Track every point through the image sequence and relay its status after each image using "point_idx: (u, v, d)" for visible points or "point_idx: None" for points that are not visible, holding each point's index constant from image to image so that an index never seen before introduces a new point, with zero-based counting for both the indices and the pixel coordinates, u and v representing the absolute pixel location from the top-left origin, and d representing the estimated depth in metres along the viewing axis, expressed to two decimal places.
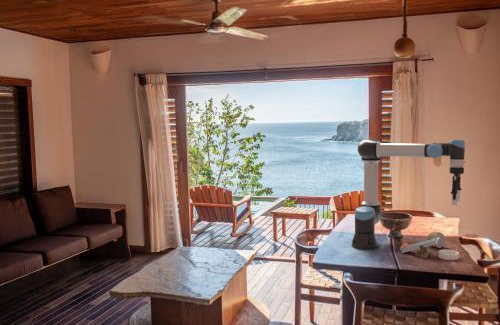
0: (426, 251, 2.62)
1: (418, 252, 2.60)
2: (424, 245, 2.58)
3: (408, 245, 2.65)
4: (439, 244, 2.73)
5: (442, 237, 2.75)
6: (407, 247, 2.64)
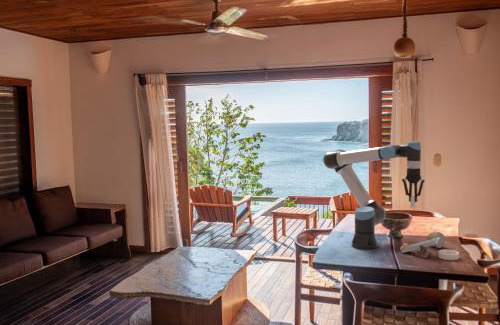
0: (426, 251, 2.62)
1: (418, 252, 2.60)
2: (424, 245, 2.58)
3: (408, 245, 2.65)
4: (439, 244, 2.73)
5: (442, 237, 2.75)
6: (407, 247, 2.64)
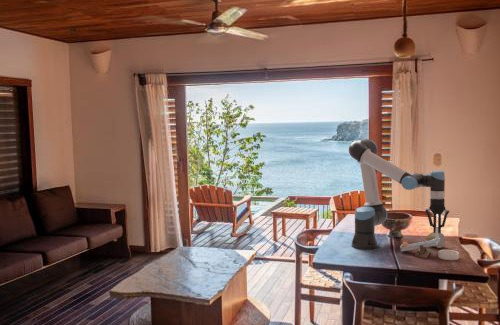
0: (426, 251, 2.62)
1: (418, 252, 2.60)
2: (424, 245, 2.58)
3: (408, 245, 2.65)
4: (439, 244, 2.73)
5: (442, 237, 2.75)
6: (407, 246, 2.64)
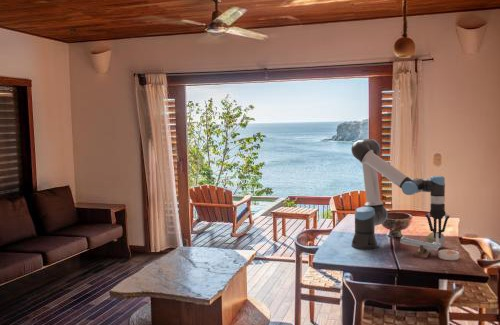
0: (426, 251, 2.62)
1: (418, 252, 2.60)
2: (425, 246, 2.58)
3: None
4: None
5: (442, 237, 2.75)
6: None
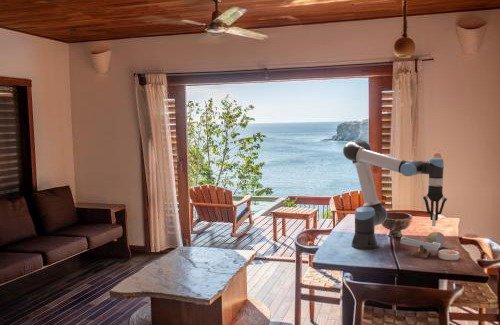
0: (426, 251, 2.62)
1: (418, 252, 2.60)
2: (425, 246, 2.58)
3: None
4: None
5: (442, 237, 2.75)
6: None
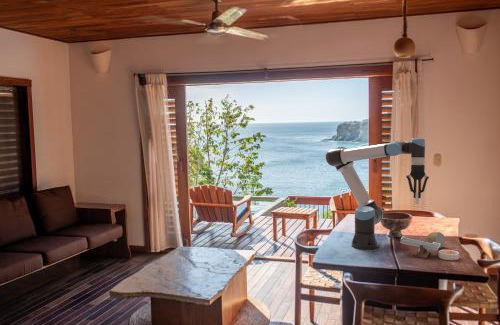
0: (426, 251, 2.62)
1: (418, 252, 2.60)
2: (425, 246, 2.58)
3: None
4: None
5: (442, 237, 2.75)
6: None
